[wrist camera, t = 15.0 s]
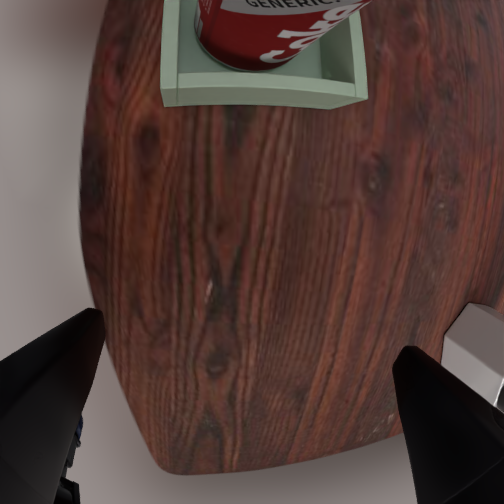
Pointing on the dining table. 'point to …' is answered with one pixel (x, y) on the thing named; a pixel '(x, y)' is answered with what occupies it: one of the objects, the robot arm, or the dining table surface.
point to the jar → (477, 351)
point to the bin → (263, 82)
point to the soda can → (265, 28)
